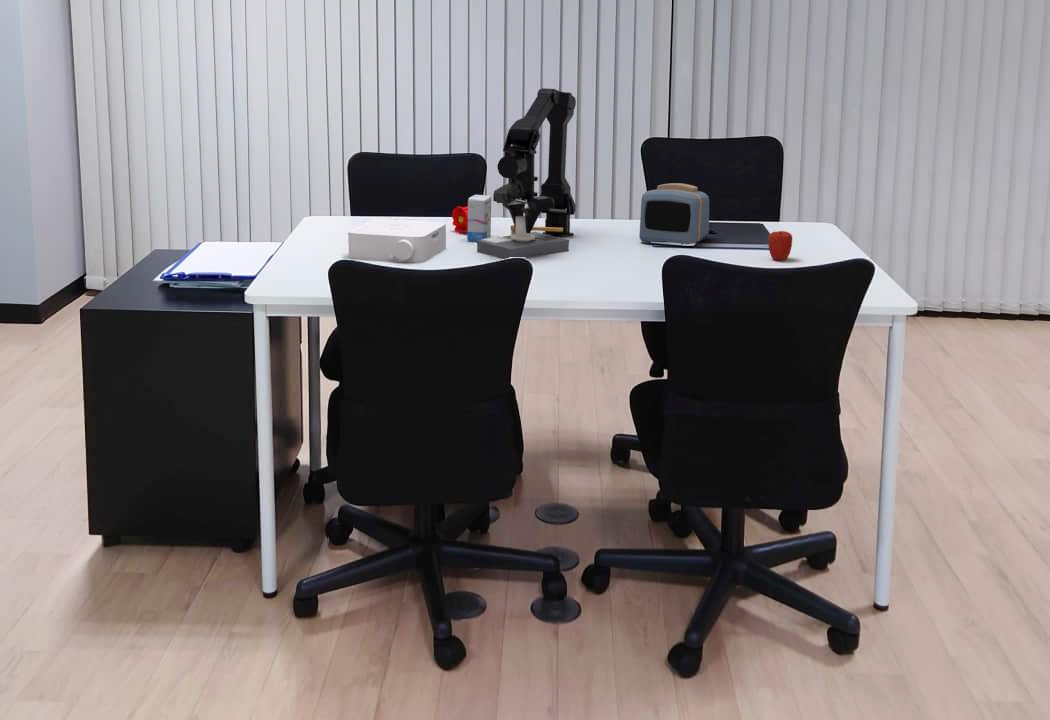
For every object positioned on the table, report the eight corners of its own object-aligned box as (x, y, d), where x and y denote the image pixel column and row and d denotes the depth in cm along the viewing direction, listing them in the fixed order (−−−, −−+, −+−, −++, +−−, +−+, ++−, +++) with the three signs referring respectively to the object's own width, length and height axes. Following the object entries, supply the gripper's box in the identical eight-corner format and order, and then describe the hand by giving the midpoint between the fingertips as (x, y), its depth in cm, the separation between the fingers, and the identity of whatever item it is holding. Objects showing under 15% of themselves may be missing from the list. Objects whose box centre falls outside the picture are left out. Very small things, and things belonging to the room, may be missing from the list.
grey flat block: (532, 241, 375) (532, 226, 374) (568, 250, 364) (568, 235, 362) (474, 251, 362) (474, 235, 361) (510, 260, 351) (510, 244, 350)
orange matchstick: (509, 230, 367) (509, 226, 367) (511, 228, 370) (511, 224, 369) (561, 232, 365) (562, 228, 365) (563, 230, 367) (563, 227, 367)
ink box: (484, 242, 373) (484, 199, 370) (467, 241, 374) (466, 198, 371) (491, 236, 382) (491, 194, 378) (474, 235, 382) (474, 193, 379)
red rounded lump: (772, 256, 359) (773, 228, 357) (794, 258, 356) (796, 230, 354) (763, 260, 354) (765, 232, 352) (786, 263, 351) (788, 234, 349)
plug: (524, 247, 367) (524, 213, 364) (539, 250, 362) (540, 217, 360) (505, 250, 363) (506, 216, 360) (521, 254, 358) (521, 220, 356)
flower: (491, 215, 384) (467, 217, 380) (484, 237, 389) (461, 240, 384) (478, 199, 389) (454, 201, 385) (471, 222, 394) (448, 224, 389)
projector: (343, 260, 352) (343, 233, 350) (375, 243, 373) (374, 218, 371) (420, 265, 347) (420, 238, 345) (448, 248, 368) (448, 222, 366)
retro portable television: (636, 244, 373) (638, 186, 369) (654, 233, 388) (656, 177, 383) (694, 249, 367) (697, 190, 363) (710, 238, 382) (713, 181, 377)
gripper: (477, 171, 359) (477, 230, 363) (522, 180, 345) (522, 241, 349) (510, 167, 365) (509, 225, 370) (555, 176, 352) (555, 235, 356)
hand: (523, 231), depth 361 cm, fingers closed on plug, 4 cm apart
